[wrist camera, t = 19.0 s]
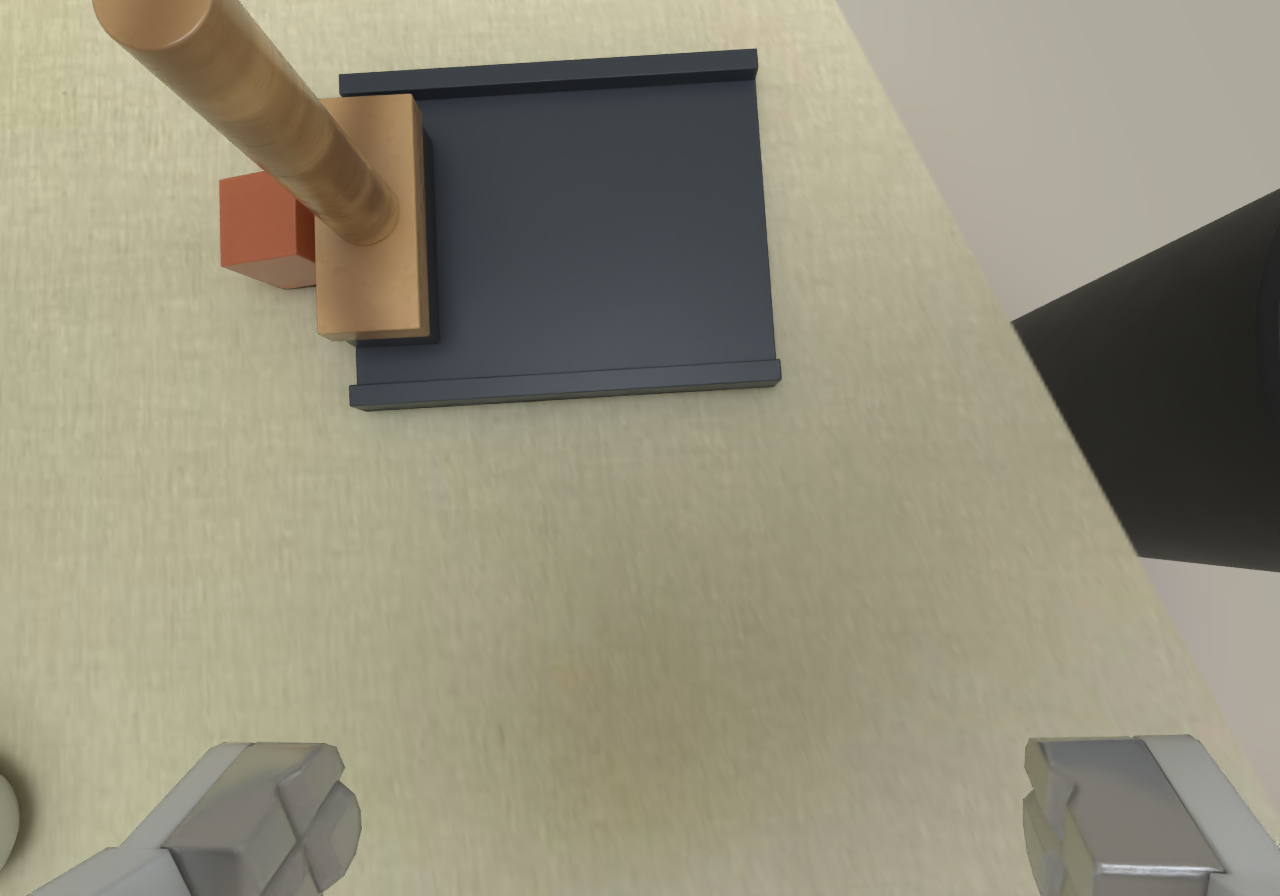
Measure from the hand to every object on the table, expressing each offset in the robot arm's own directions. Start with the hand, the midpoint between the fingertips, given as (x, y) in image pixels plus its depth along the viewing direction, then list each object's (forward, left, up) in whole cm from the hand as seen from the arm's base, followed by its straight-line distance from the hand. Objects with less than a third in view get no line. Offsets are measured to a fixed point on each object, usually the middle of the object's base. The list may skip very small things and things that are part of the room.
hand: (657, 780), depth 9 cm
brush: (+11, -16, -26) cm, 33 cm away
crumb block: (+15, -17, -27) cm, 35 cm away
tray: (+3, -17, -27) cm, 32 cm away
